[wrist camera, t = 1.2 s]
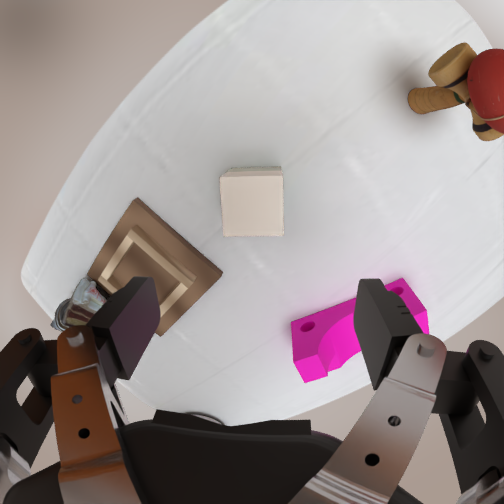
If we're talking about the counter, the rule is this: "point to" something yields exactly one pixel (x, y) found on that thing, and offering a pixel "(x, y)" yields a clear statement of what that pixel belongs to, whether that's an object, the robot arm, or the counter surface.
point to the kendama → (467, 88)
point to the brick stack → (252, 202)
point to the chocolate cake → (78, 306)
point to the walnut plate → (154, 262)
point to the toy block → (339, 334)
